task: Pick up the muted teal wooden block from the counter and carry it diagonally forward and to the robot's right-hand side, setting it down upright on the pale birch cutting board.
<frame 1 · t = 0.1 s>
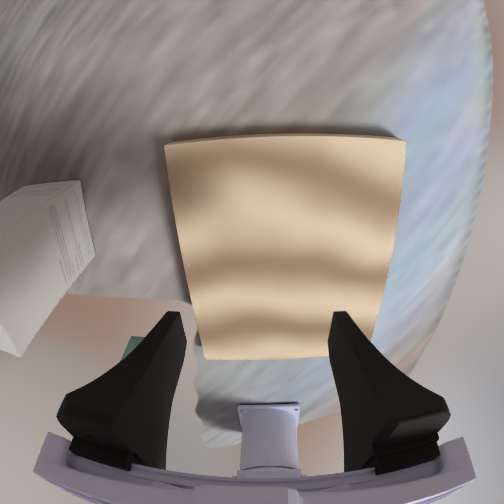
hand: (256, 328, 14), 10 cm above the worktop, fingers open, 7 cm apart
supplement box: (59, 219, 22), on the worktop
birch board: (288, 262, 23), on the worktop
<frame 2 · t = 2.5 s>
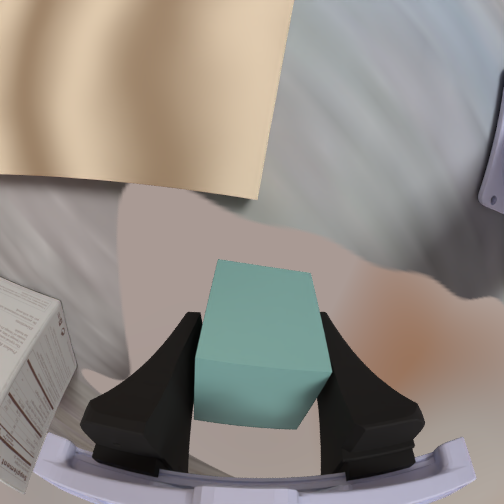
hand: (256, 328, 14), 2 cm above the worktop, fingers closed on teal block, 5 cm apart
supplement box: (36, 320, 17), on the worktop
birch board: (69, 11, 8), on the worktop
teal block: (257, 302, 15), on the worktop, touching gripper
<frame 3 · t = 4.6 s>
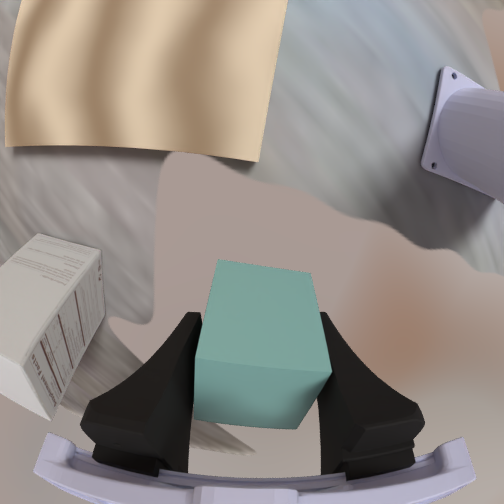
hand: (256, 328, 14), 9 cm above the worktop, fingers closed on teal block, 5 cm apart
supplement box: (73, 273, 23), on the worktop
birch board: (125, 30, 14), on the worktop
teal block: (257, 302, 15), point 7 cm above the worktop, touching gripper
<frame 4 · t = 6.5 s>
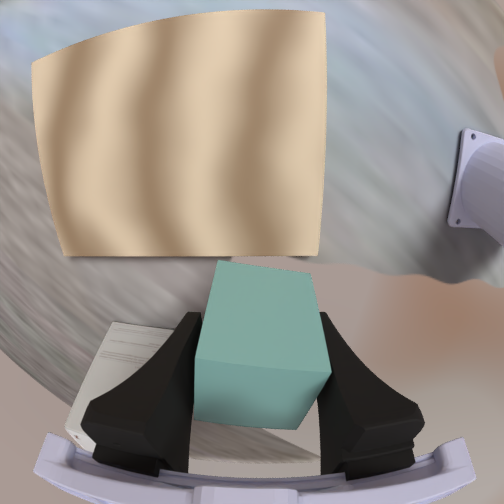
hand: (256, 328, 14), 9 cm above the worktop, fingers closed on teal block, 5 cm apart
supplement box: (152, 348, 28), on the worktop
birch board: (165, 138, 18), on the worktop
teal block: (257, 303, 15), point 7 cm above the worktop, touching gripper
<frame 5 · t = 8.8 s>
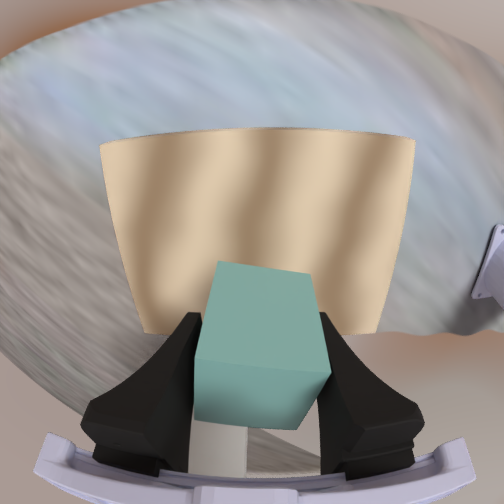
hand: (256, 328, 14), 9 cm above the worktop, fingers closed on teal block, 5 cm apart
supplement box: (217, 395, 31), on the worktop
birch board: (258, 242, 21), on the worktop
teal block: (257, 303, 15), point 7 cm above the worktop, touching gripper
when the fingers open (5 cm above the worktop, at t = 10.5 s): teal block drops 1 cm, resting on birch board.
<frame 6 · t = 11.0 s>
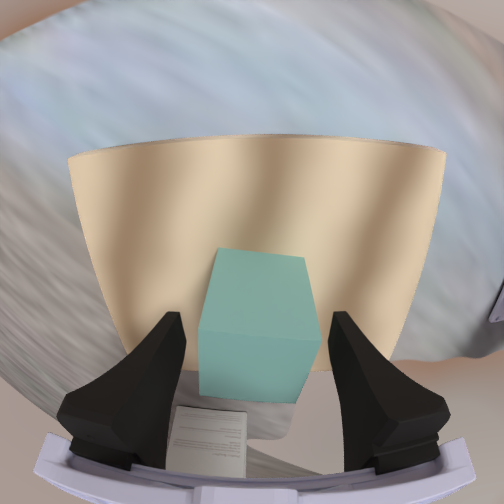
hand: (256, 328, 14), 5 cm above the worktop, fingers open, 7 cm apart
supplement box: (213, 422, 28), on the worktop
birch board: (257, 271, 18), on the worktop
teal block: (256, 287, 17), point 1 cm above the worktop, touching birch board
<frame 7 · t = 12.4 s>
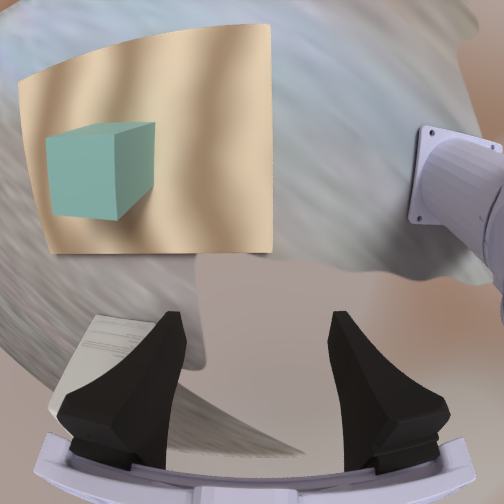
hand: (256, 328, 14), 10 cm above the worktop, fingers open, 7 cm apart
supplement box: (132, 340, 30), on the worktop
birch board: (133, 148, 19), on the worktop
teal block: (124, 153, 18), point 1 cm above the worktop, touching birch board
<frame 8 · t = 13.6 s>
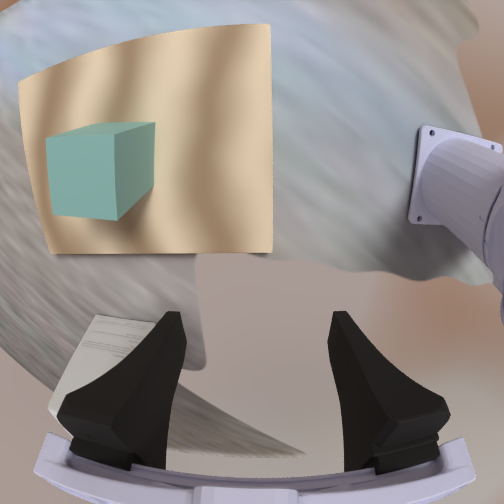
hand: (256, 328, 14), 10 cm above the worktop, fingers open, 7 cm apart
supplement box: (132, 340, 30), on the worktop
birch board: (133, 148, 19), on the worktop
teal block: (124, 153, 18), point 1 cm above the worktop, touching birch board
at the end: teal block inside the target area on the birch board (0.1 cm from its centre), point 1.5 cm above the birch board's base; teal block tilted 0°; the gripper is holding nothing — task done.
